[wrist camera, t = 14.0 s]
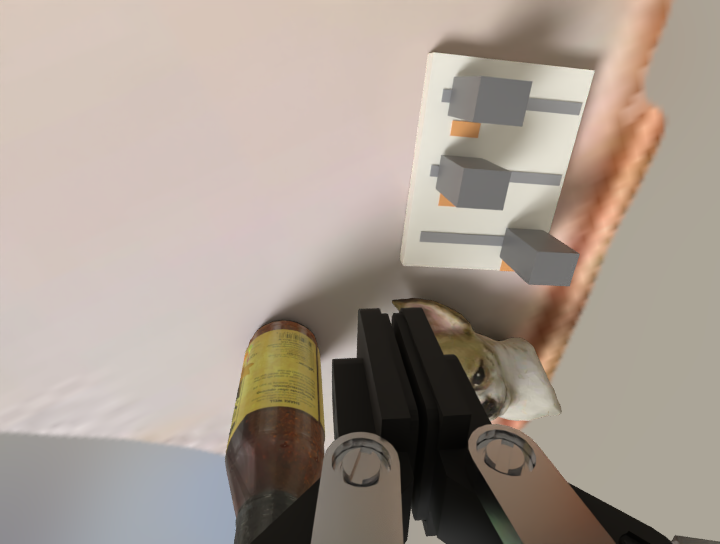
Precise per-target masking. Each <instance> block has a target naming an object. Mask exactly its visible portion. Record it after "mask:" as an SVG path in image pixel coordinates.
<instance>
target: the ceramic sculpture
mask: <svg viewBox="0 0 720 544" xmlns="http://www.w3.org/2000/svg"><path fill="white" fill-rule="evenodd" d="M392 303H393V305H394V306H395V307H396V308H397V309H398V310H399V311H400V308H412V307H422V309H423V311H424V313H425V315H426V317H427V320H428V322H429V324H430V326H431V328H432V330H433V332H434V335H435V337H436V339H437V341H438V343H439V345H440V347H441V350H442V352H443V354H444V355H446V354H454V355H456V356H457V357H458V359H459V361H460V363H461V365H462V367H463V369H464V371H465V373H466V375H467V377H468V379H469V380H470V382H471V384H472V386H473V388H474V390H475V392H476V394H477V396H478V398H479V400H480V402H481V404H482V406H483V408H484V410H485V412H486V414H487V416H488V418H489V420H490V421H491V420H494V419H496V418H497V417H502V418H504V419H508V420H515V421H519V420H526V421H531V420H534V419H538V418H542V417H545V416H549V415H556V416H557V415H560V414H561V412H562V411H561V406H560V404H559V402H558V400H557V397H556V394H555V391H554V389H553V387H552V385H551V384H550V382H549V380H548V378H547V375H546V373H545V371H544V369H543V366H542V364H541V362H540V360H539V358H538V356H537V354H536V351H535V349H534V347H533V346H532V345H531V344H530V343H529V342H528V341H526V340H524V339H522V338H508V339H506V340H503V341H496V340H493V339H491V338H489V337H487V336H483V335H480V334H478V333H475V332H474V331H473V329H472V327H471V325H470V323H469V322H468V321H467V320H466V319H465V318H464V317H463V316H462V314H460V313H458V312H456V311H455V310H453V309H451V308H449V307H447V306H445V305H442V304H439V303H438V302H435V301H432V300H424V299H420V298H409V299H398V300H393V301H392Z"/></svg>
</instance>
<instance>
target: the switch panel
mask: <svg viewBox="0 0 720 544" xmlns="http://www.w3.org/2000/svg"><path fill="white" fill-rule="evenodd" d="M594 72H595V71H594V70H586V69H577V68H568V67H559V66H550V65H541V64H533V63H524V62H515V61H506V60H497V59H488V58H479V57H471V56H462V55H453V54H444V53H435V52H433V53H429V54H428V58H427V65H426V72H425V79H424V86H423V94H422V101H421V108H420V115H419V122H418V130H417V137H416V144H415V151H414V158H413V166H412V173H411V180H410V187H409V194H408V201H407V209H406V216H405V223H404V230H403V237H402V245H401V252H400V260H401V263H402V265H403V266H418V267H440V268H461V269H483V270H500V271H514V270H513V269H512V268H511V267H510V266H508V265H507V264H506V263H505V262H504V261H503V260H502V259H501V258H500V252H501V248H502V244H503V240H504V236H505V232H506V228H517V229H534V230H544V231H545V232H547V233H548V234H549V231H550V228H551V224H552V221H553V217H554V214H555V210H556V206H557V203H558V199H559V196H560V192H561V189H562V185H563V182H564V178H565V175H566V171H567V167H568V164H569V160H570V157H571V153H572V150H573V146H574V143H575V139H576V136H577V132H578V128H579V125H580V121H581V118H582V114H583V111H584V107H585V104H586V100H587V97H588V93H589V89H590V86H591V82H592V79H593V75H594ZM461 76H486V77H495V78H505V79H514V80H523V81H533V82H532V87H531V91H530V95H529V100H528V104H527V108H526V113H525V117H524V121H523V126H522V127H520V126H509V125H499V124H488V123H477V122H470V121H467V120H463V119H459V118H455V117H451V116H448V110H449V104H450V97H451V91H452V85H453V79H454V77H461ZM441 155H449V156H461V157H474V158H483V159H485V160H487V161H489V162H491V163H494V164H496V165H498V166H500V167H502V168H504V169H507V170H509V171H511V172H512V173H511V177H510V182H509V186H508V190H507V195H506V199H505V203H504V208H503V210H488V209H472V208H457V207H456V206H454V205H453V204H452V203H451V202H450V201H449V200H448V199H447V198H445V197H444V196H443V195H442V194H441V193H440V192H439V191H437V190H436V183H437V177H438V171H439V165H440V159H441Z"/></svg>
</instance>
